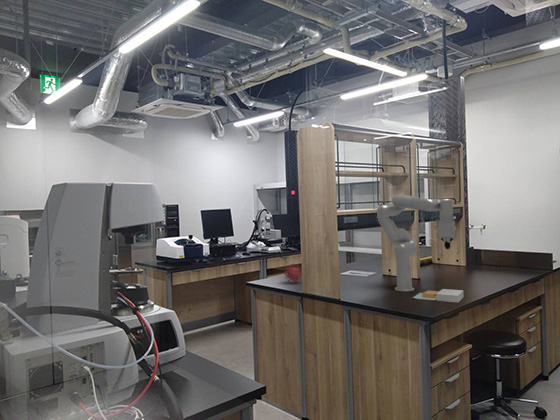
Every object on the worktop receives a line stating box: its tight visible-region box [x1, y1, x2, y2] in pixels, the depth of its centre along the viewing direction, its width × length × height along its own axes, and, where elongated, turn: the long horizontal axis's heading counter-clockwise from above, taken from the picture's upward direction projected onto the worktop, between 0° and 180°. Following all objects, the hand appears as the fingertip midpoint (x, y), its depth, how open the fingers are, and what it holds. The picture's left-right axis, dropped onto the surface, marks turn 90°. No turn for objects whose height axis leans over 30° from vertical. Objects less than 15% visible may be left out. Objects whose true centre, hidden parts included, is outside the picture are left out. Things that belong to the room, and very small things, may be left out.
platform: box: [435, 288, 465, 303], centre depth 247 cm, size 16×12×4 cm
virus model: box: [284, 263, 302, 283], centre depth 316 cm, size 15×15×15 cm
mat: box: [412, 292, 437, 301], centre depth 255 cm, size 16×13×1 cm
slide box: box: [421, 290, 440, 299], centre depth 254 cm, size 10×7×2 cm
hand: (447, 248), depth 254 cm, fingers closed
